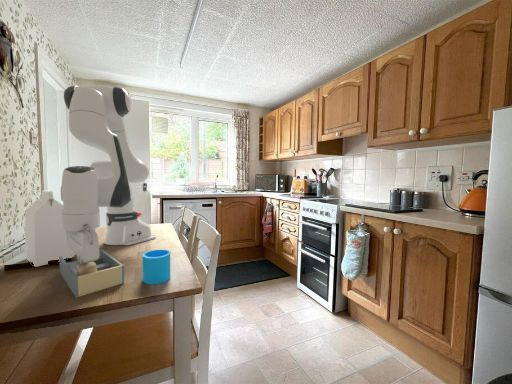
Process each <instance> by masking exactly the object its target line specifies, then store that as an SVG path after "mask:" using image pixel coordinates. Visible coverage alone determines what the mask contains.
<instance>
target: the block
mask: <svg viewBox="0 0 512 384" xmlns="http://www.w3.org/2000/svg"><path fill="white" fill-rule="evenodd" d="M93 272H97V265H96V264H95V263H94V262H89V263H84V264H80V265H77V276H81V275H85V274H89V273H93Z"/></svg>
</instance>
